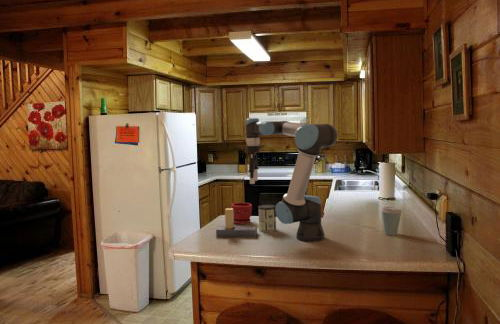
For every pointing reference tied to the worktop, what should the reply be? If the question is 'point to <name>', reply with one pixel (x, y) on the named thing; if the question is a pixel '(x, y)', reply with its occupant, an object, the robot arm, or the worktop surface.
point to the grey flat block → (236, 232)
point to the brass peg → (229, 218)
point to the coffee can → (267, 218)
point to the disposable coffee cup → (391, 220)
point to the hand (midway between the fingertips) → (253, 182)
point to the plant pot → (242, 216)
